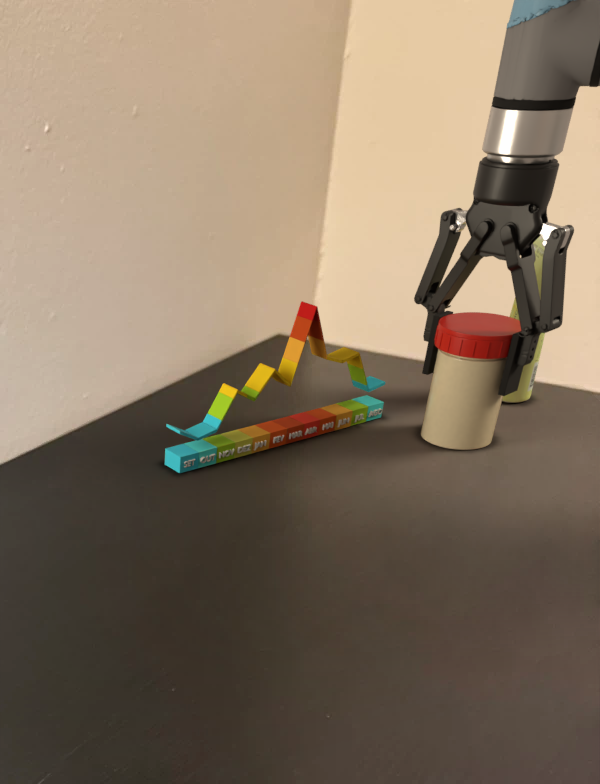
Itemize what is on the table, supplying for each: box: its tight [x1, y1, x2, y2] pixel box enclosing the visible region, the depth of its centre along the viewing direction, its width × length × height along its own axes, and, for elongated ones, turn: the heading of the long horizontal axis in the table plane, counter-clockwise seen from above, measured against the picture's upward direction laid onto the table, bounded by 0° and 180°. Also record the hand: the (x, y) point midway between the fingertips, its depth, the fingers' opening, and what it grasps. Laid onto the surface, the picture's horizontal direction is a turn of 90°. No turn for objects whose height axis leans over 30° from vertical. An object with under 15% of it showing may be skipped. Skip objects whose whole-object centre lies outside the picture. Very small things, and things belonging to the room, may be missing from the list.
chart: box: [164, 301, 386, 474], centre depth 112 cm, size 30×3×15 cm, turn 120°
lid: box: [434, 311, 521, 359], centre depth 109 cm, size 9×9×2 cm
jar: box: [420, 349, 507, 451], centre depth 112 cm, size 8×8×12 cm
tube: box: [502, 235, 546, 404], centre depth 120 cm, size 6×5×20 cm
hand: (468, 381), depth 112 cm, fingers closed on lid, 9 cm apart
